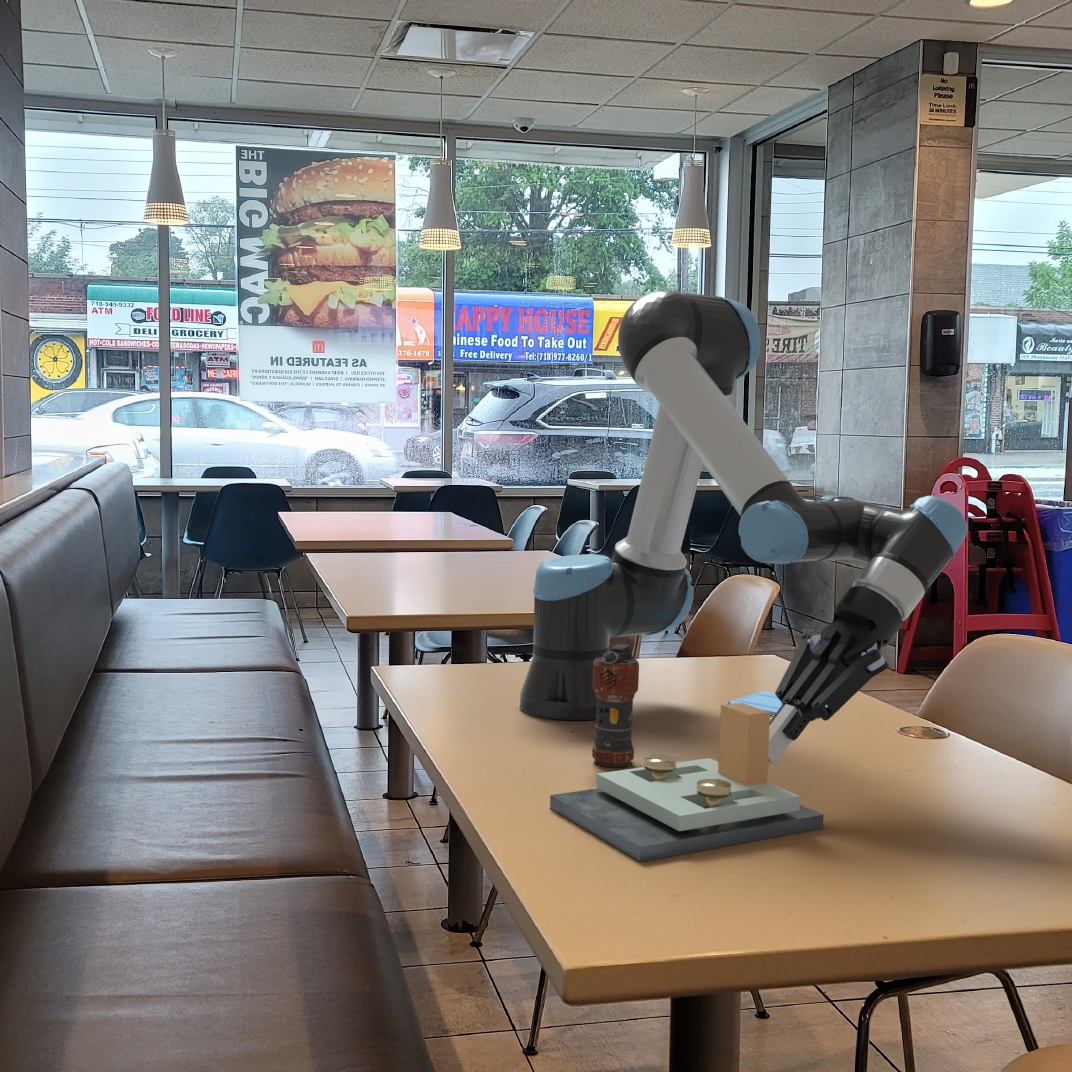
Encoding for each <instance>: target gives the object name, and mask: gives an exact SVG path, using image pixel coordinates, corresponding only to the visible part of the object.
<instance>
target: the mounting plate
mask: <svg viewBox="0 0 1072 1072" xmlns="http://www.w3.org/2000/svg"><path fill="white" fill-rule="evenodd" d="M676 763H677V760H676V758H674V757H672V756H668V755H665V754H663V755H662V754H653V755H652V754H651V755H647V756H645V757H644V759H643V767H644V768H645V769H646V770H648V771H652V772H653V773H652V782H655V781H662V780H666V776H667V772H672V771H675V769H676ZM697 793H698V794H699V795H701V796H704V797H706V807H702V808H705V809H707V808H713V807H719V806H721V798H725V797H729V796H730V795H731V784H730V783H729V782H727V781H724V780H720V779H702V780H699V781H697ZM549 809H551V810H553V811H555V812H556V813H558V814H559V815H561V816H562V817H564V818H566V819H567V820H569V821H571V822H572V823H574V824H575V825H578V826H579V827H581V829H582V828H583V830H585V831H588V832H589V833H591V834H592V835H594V836H596V837H597V838H599V839H601V840H602V841H604V842H606V843H608V844H609V845H610V846H612V847H614V848H616V849H617V850H619V851H620V852H622V853H624V854H626V855H627V856H629V857H631V858H633V859H635V860H636V861H637V862H639V863H640V862H646V861H652V860H656V859H662V858H663V859H664V858H666V857H667V858H668V857H673V856H678V855H679V856H680V855H684V854H690V853H695V852H700V851H701V852H702V851H706V850H711V849H717V848H721V847H727V846H732V845H739V844H745V843H749V842H754V841H759V840H765V839H771V838H777V837H782V836H788V835H793V834H798V833H804V832H809V831H814V830H821V829H823V828H824V813H820V812H818V811H816V810H813V809H811V808H809V807H807V806H805V805H802V804H800V810H799V811H794V812H788V813H782V814H777V815H771V816H765V817H759V818H753V819H748V820H742V821H736V822H730V823H724V824H719V825H713V826H707V827H701V828H695V829H690V830H684V831H678V830H676V829H674V828H672V827H670V826H668V825H666V824H664V823H663V822H661V821H659V820H657V819H655V818H653V817H651V816H649V815H647V814H646V813H644V812H642V811H640V810H638V809H636V808H634V807H632V806H631V805H629V804H627V803H625V802H623V801H621V800H619V799H617V798H615V797H614V796H612V795H610V794H608V793H606V792H604V791H602V790H600V789H598V788H597V787H595V788H590V789H585V790H584V789H581V790H576V791H570V792H569V791H568V792H563V793H555V794H550V798H549Z"/></svg>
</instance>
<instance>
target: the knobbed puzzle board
mask: <svg viewBox="0 0 1072 1072" xmlns="http://www.w3.org/2000/svg"><path fill="white" fill-rule="evenodd" d="M719 718H720V720H719V721H720V722H719V738H718V739H719V743H718V761H717V760H714V759H712V758H711V757H708V758H702V759H700V758H699V759H694V760H693V759H692V760H687V761H679V762H676V769H675V771H672V772H667V776H666V780H662V781H655V782H652V773H653V772H652V771H648V770H646V769H645V768H644V766H643V767H635V768H628V769H627V768H626V769H621V770H615V771H607V772H599V773H596V785H595V786H596V787H595V788H598V789H600V790H602V791H604V792H606V793H608V794H610V795H612V796H614V797H615V798H617V799H619V800H621V801H623V802H625V803H627V804H629V805H631V806H632V807H634V808H636V809H638V810H640V811H642V812H644V813H646V814H647V815H649V816H651V817H653V818H655V819H657V820H659V821H661V822H663V823H664V824H666V825H668V826H670V827H672V828H674V829H676V830H678V831H684V830H690V829H695V828H701V827H707V826H713V825H719V824H724V823H730V822H736V821H742V820H748V819H753V818H759V817H765V816H771V815H777V814H782V813H788V812H794V811H799V810H800V805H801V796H800V795H798V794H796V793H793V792H791V791H789V790H786V789H784V788H782V787H780V786H777V785H774V784H772V783H770V782H768V769H769V768H768V766H769V763H768V747H769V726H770V720H771V716H770V712H768V711H765V710H762V709H759V708H756V707H753V706H750V705H747V704H744V703H735V704H728V703H727V704H721V705H720V717H719ZM702 779H720V780H724V781H727V782H729V783H730V784H731V795H730V796H729V797H725V798H721V806H719V807H713V808H707V809H705V808H702V807H706V797H704V796H701V795H699V794H698V793H697V781H699V780H702Z"/></svg>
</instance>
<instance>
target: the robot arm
mask: <svg viewBox="0 0 1072 1072" xmlns="http://www.w3.org/2000/svg"><path fill="white" fill-rule="evenodd" d="M760 332H761V331H760V328H759V325H758V323H757V322H756V320H755V316H754V314H753V313H752V311H751V310H750V309H749V308H748V307H747V306H746V305H744V304H743V303H741V302H739V301H737V300H733V299H729V298H726V297H723V296H718V295H709V294H699V293H698V294H697V293H690V292H679V291H675V290H667V289H665V290H656V291H651V292H648V293H646V294H645V295H643V296H641V297H639V298H638V299H637V300H635V301H633V302H632V303H631V305H630V306H629V307H628V308H627V310H626V311H625V312H624V315H623V317H622V319H621V321H620V323H619V327H618V335H617V336H618V337H617V345H618V351H619V355H620V358H621V361H622V362H623V365H624V367H625V369H626V371H627V372H628V373H629V376H630V377H631V378H632V379H633V381H634V382H635V384H636V385H637V387H638V388H639V389H640V390H642V391H643V392H648V393H652V395H653V397H655V399H656V400H657V402H658V403H659V405H658V411H657V414H656V418H655V422H654V426H653V430H652V434H651V438H650V442H649V447H648V451H647V454H646V455H647V456H646V459H645V463H644V468H643V471H642V475H641V480H640V483H639V488H638V491H637V496H636V501H635V503H634V508H633V512H632V516H631V521H630V523H629V524H630V525H629V529H628V532H627V535H626V537H624V538H623V539H621V540H619V541H618V542H616V543H615V546H614V549H613V553H612V557H611V558H609V556H606V555H603V554H595V553H594V554H590V553H587V554H584V553H583V554H577V555H576V554H575V555H574V554H571V555H570V554H569V555H563V556H558V557H553V558H550V559H547V560H545V561H543V562H542V563H540V565H539V566H538V567H537V569H536V572H535V580H534V588H533V589H532V590H533V593H532V595H533V596H534V599H533V600H534V603H533V605H534V608H533V637H532V643H533V644H532V659H531V662H530V665H529V668H528V671H527V673H526V677H525V679H524V683H523V685H522V688H521V691H520V697H519V699H520V700H519V708H520V710H521V711H523V712H525V713H526V714H529V715H532V716H536V717H541V718H546V719H552V720H554V719H555V720H565V721H567V720H568V721H582V720H584V721H585V720H596V713H597V697H596V696H595V691H594V690H593V662H594V660H595V659H596V658H597V657H601V656H603V655H604V654H606V653H608V652H610V638H611V639H612V638H620V637H622V638H623V637H629V636H630V637H631V636H640V635H641V636H642V635H645V636H648V635H650V636H651V635H657V634H659V633H662V632H667V631H671V630H673V629H675V628H677V627H678V626H679V625H680V624H681V623H683V621H684V620H685V619H686V618H687V616H688V614H689V613H690V610H691V608H692V606H693V601H694V595H695V594H694V585H691V582H692V581H693V579H692V575H691V574H690V572H689V570H688V569H687V564H688V561H687V558H686V557H685V555H684V553H683V552H682V545H683V541H684V538H685V535H686V531H687V525H688V523H689V519H690V514H691V510H692V507H693V503H694V501H695V500H694V499H695V496H696V491H697V488H698V484H699V480H700V476H701V473H702V470H703V466H704V467H705V469H706V470H707V471H708V473H709V475H710V476H711V477H712V479H713V480H714V482H715V483H716V484H717V486H718V487H719V488H720V490H721V491H722V492H723V493H724V495H725V497H726V498H727V500H728V501H729V502H730V503H731V505H732V506H733V508H734V509H735V510H736V512H737V513H738V515H739V516H740V520H739V522H738V535H739V537H740V541H741V543H740V545H741V548H742V550H743V551H744V552H745V554H746V555H747V556H748V557H749V558H751V559H752V560H754V561H756V562H759V563H763V564H778V565H788V564H789V565H790V564H791V563H801V562H803V563H804V562H817V561H818V562H822V561H824V562H825V561H837V560H839V561H841V560H855V561H858V562H863V563H865V564H866V565H865V567H864V568H863V569H862V570H861V571H860V573H859V574H858V575H857V576H856V578H855V579H854V580H853V583H852V586H851V587H850V588H848V589H847V591H846V592H845V593H844V595H843V596H842V597H841V598H840V600H839V601H838V603H837V604H835V607H834V610H833V619H832V621H831V622H830V623H829V624H828V625H826V626H825V627H823V628H822V630H821V631H820V633H818V634H815V635H813V636H812V635H810V634H809V633H808V632H802V633H801V635H800V636H799V639H798V646H797V649H796V651H795V653H794V655H793V657H792V659H791V661H790V663H789V664H788V667H787V668H786V670H785V672H784V674H783V676H782V678H781V680H780V682H779V684H778V686H777V687H776V688H777V689H776V690H775V692H774V693H775V695H776V696H777V697H778V699H779V700H780V701H781V702H782V705H781V707H780V709H779V710H778V711H777V713H776V714H775V715H774V716H772V718H770V726H769V747H768V764H772V765H776V763H777V762H778V760H779V759H780V758H781V757H782V755H783V754H784V752H786V750H787V748H788V747H789V746H790V744H791V743H792V741H796V740H797V739H798V738H799V736H800V735H801V734H802V733H803V731H804V730H805V729H806V727H807V726H808V725H809V723H810V722H814V721H815V720H816V719H822V721H823V722H824V721H829V720H830V719H831V718H832V717H833V716H834V715H835V714H836V713H837V712H839V710H840V709H842V708H843V706H844V705H846V704H847V702H848V701H850V700H851V699H852V697H854V696H855V695H856V694H857V693H858V692H859V691H860V690H861V689H862V688H863V687H864V686H865V685H866V684H867V683H868V682H870V680H872V678H874V677H875V676H878V675H879V674H881V673H882V672H884V671H885V670H886V669H887V668H888V667H889V663H888V662H887V660H886V659H885V658H884V657H883V655H882V654H881V650H882V648H884V647H886V646H888V645H889V644H890V643H891V642H892V640H893V638H894V637H895V636H896V635H897V633H898V632H899V630H900V629H901V628H902V626H903V622H904V621H906V620H907V619H908V618H909V616H910V615H911V614H912V612H913V611H914V610H915V608H916V606H918V604H919V602H920V601H921V600H922V599H923V597H924V595H925V594H927V591H929V588H930V586H931V585H932V584H933V583H934V582H935V580H936V579H937V578H938V576H939V575H940V574H941V573H942V572H943V570H944V569H945V568H946V566H948V564H949V563H950V562H951V561H952V559H954V558H955V556H956V552H957V551H958V550H959V548H960V547H961V545H962V543H964V540H965V539H966V537H967V535H968V530H969V526H968V522H967V521H966V518H965V516H964V515H963V513H962V512H961V511H960V509H958V508H957V507H956V506H955V505H953V504H952V503H950V502H949V501H947V500H945V499H944V498H942V497H941V498H940V497H938V496H934V495H926V496H922V497H919V498H918V499H916V500H915V501H914V503H913V504H910V505H909V507H908V509H907V510H904V509H899V508H892V507H886V506H882V505H877V504H874V503H870V502H866V501H862V500H858V499H855V498H854V497H851V496H838V495H832V494H831V495H830V494H828V495H825V496H824V495H823V496H822V497H820V499H818V500H816V501H815V500H813V501H812V500H811V501H809V500H805V499H804V498H803V497H802V495H801V494H800V493H799V491H798V490H797V489H796V488H795V487H794V485H793V483H792V482H790V480H789V479H788V477H787V476H786V475H785V473H784V472H783V471H782V469H781V467H779V465H778V464H777V463H776V461H775V460H774V458H773V457H772V456H771V455H770V453H769V452H768V451H767V450H766V448H765V447H764V446H763V444H762V443H761V442H760V440H759V439H758V438H757V436H756V435H755V433H754V432H752V430H751V429H750V427H749V426H748V425H747V423H746V422H745V421H744V419H743V418H742V417H741V416H740V414H739V413H738V411H737V410H736V409H735V407H734V406H733V405H732V403H731V402H730V401H729V400H728V398H730V397H732V395H733V390H734V386H735V382H736V380H738V379H740V378H742V377H745V376H746V375H747V374H748V372H750V371H752V370H753V368H754V367H755V366H756V363H757V362H758V358H759V357H760V351H761V341H762V340H761V333H760ZM607 655H608V654H607ZM607 655H605V656H607ZM826 705H827V706H828V707H827V708H826Z"/></svg>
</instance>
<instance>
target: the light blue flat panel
mask: <svg viewBox="0 0 1072 1072" xmlns="http://www.w3.org/2000/svg"><path fill="white" fill-rule="evenodd" d="M735 703H744V704H747V705H750V706H753V707H756V708H759V709H762V710H765V711H768V712H770V714H771V715H775V714H776V713H777V711H778V710H779V709H780V707H781V705H782V702H781V701H780V700H779V699H778V697H777V696H776V695H775V692H769V691H765V690H762V691H758V692H755V693H751V694H747V695H746V696H745V695H744V696H741V697H737V698H735V699H731V700H729V701H727V704H735ZM827 707H828V706H827V705H826V708H827Z"/></svg>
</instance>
